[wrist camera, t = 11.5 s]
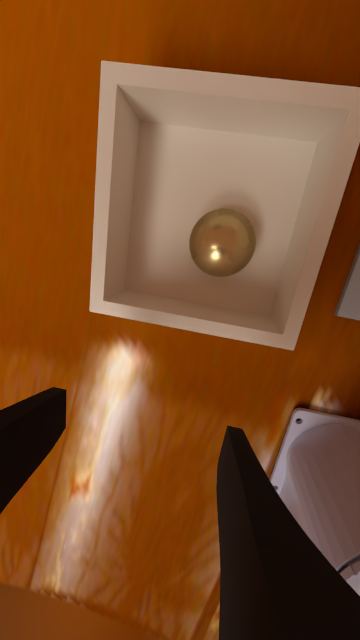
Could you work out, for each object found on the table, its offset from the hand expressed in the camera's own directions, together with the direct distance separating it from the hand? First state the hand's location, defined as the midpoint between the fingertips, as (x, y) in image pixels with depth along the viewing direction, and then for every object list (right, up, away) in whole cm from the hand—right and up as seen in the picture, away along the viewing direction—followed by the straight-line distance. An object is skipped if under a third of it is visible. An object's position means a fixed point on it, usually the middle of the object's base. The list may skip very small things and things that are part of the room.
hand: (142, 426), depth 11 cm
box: (+4, +11, +6) cm, 13 cm away
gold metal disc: (+4, +10, +6) cm, 12 cm away
